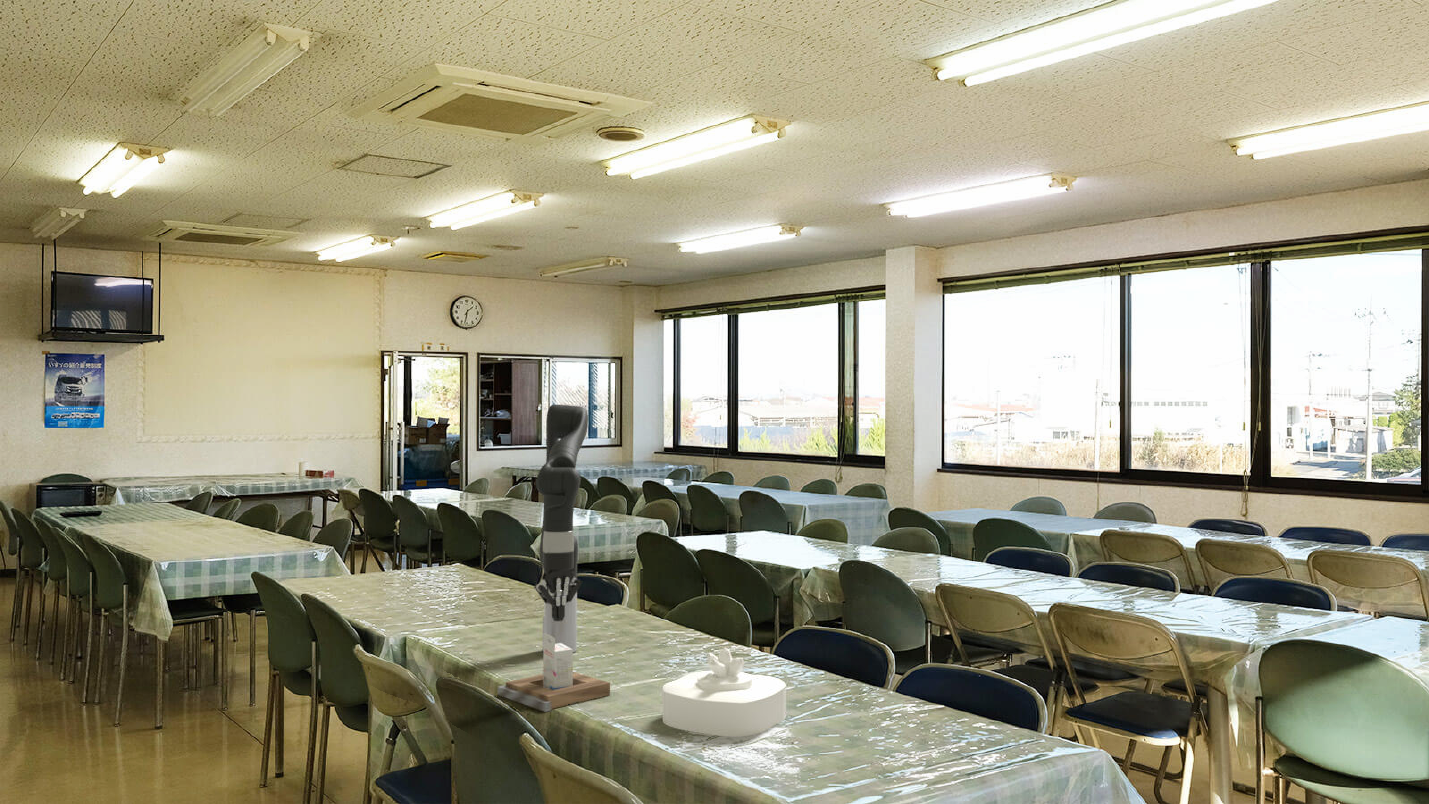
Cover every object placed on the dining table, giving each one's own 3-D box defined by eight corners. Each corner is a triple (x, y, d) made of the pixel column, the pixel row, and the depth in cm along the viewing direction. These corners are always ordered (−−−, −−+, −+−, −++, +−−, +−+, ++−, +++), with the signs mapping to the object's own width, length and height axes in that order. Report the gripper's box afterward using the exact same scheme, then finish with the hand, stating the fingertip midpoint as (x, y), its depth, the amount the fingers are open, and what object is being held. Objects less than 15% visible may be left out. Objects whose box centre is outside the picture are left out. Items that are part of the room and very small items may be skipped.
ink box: (573, 697, 251) (574, 636, 251) (554, 700, 249) (554, 638, 249) (561, 689, 258) (561, 630, 259) (542, 692, 256) (542, 632, 256)
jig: (497, 694, 253) (497, 682, 253) (563, 680, 267) (563, 669, 267) (545, 711, 239) (545, 698, 239) (612, 696, 252) (612, 683, 253)
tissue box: (748, 742, 218) (748, 665, 218) (648, 724, 230) (648, 651, 230) (798, 712, 240) (798, 642, 240) (703, 698, 252) (704, 631, 252)
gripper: (571, 545, 261) (571, 615, 261) (526, 550, 252) (526, 622, 252) (589, 548, 256) (589, 619, 256) (544, 553, 247) (544, 626, 246)
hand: (558, 620), depth 254 cm, fingers closed
